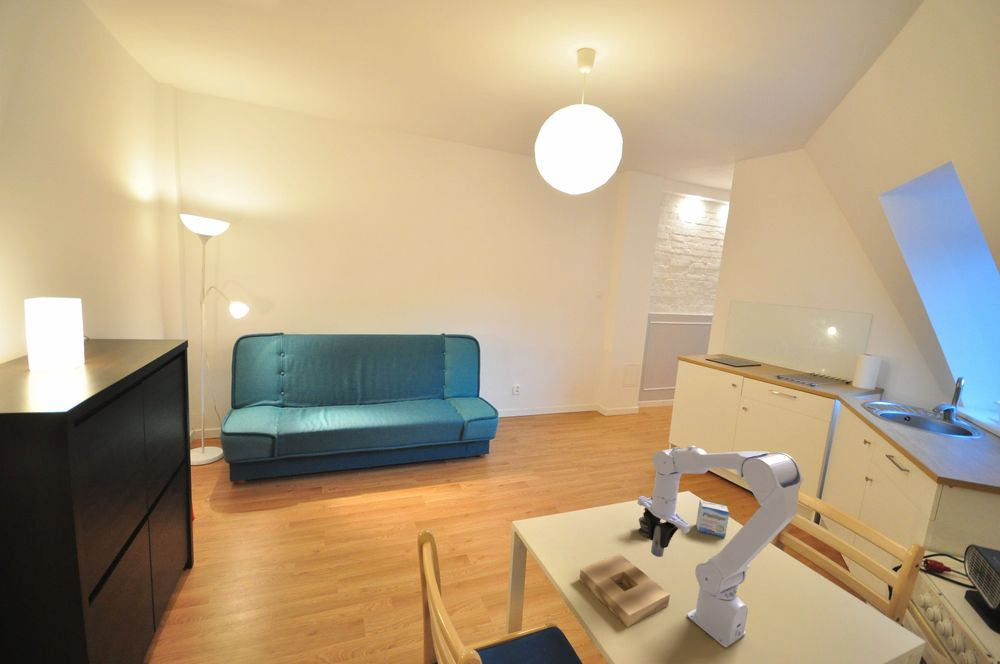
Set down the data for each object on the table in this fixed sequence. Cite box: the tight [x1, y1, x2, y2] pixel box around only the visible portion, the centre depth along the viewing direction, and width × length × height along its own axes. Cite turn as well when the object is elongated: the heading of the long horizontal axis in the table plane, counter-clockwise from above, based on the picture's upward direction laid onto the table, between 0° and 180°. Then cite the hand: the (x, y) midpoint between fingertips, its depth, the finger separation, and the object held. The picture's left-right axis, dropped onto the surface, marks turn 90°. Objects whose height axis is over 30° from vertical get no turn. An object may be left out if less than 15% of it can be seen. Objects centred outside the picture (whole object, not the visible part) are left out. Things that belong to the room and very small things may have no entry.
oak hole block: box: [578, 553, 671, 628], centre depth 102 cm, size 16×14×3 cm
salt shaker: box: [637, 496, 653, 539], centre depth 127 cm, size 6×6×12 cm
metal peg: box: [650, 521, 665, 558], centre depth 109 cm, size 3×3×8 cm
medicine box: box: [695, 500, 730, 538], centre depth 131 cm, size 8×4×9 cm, turn 73°
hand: (658, 542), depth 109 cm, fingers closed on metal peg, 3 cm apart
